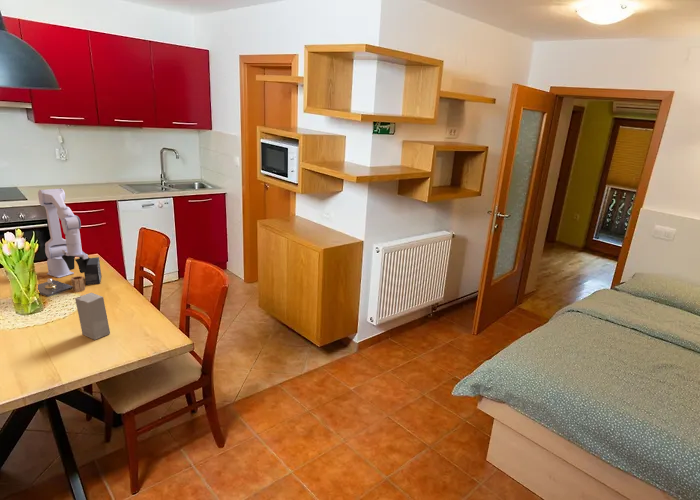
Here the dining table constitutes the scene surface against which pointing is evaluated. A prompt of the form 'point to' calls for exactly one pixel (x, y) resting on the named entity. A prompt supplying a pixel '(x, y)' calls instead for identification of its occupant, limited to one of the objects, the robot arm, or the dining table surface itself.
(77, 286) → the brown hollow prism
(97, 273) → the small box
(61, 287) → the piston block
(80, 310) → the skincare box
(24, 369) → the dining table surface
